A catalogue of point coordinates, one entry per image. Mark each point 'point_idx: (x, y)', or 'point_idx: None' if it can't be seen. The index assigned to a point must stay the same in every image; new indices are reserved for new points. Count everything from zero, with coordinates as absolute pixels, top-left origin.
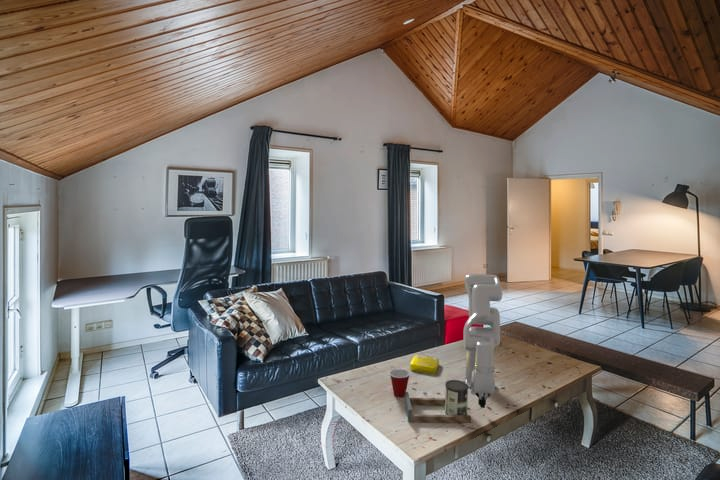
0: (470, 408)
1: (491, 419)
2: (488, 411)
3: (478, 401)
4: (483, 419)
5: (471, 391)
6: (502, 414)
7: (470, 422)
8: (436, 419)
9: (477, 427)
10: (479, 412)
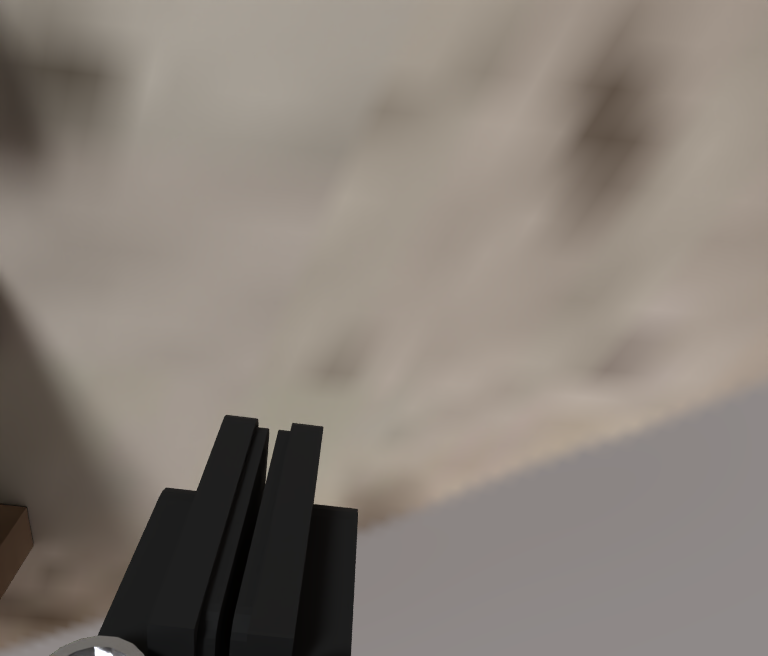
0: (124, 96)
1: (416, 492)
2: (504, 269)
3: (144, 535)
4: None
5: None
6: (717, 392)
7: (15, 558)
8: None
9: None
10: (288, 281)
